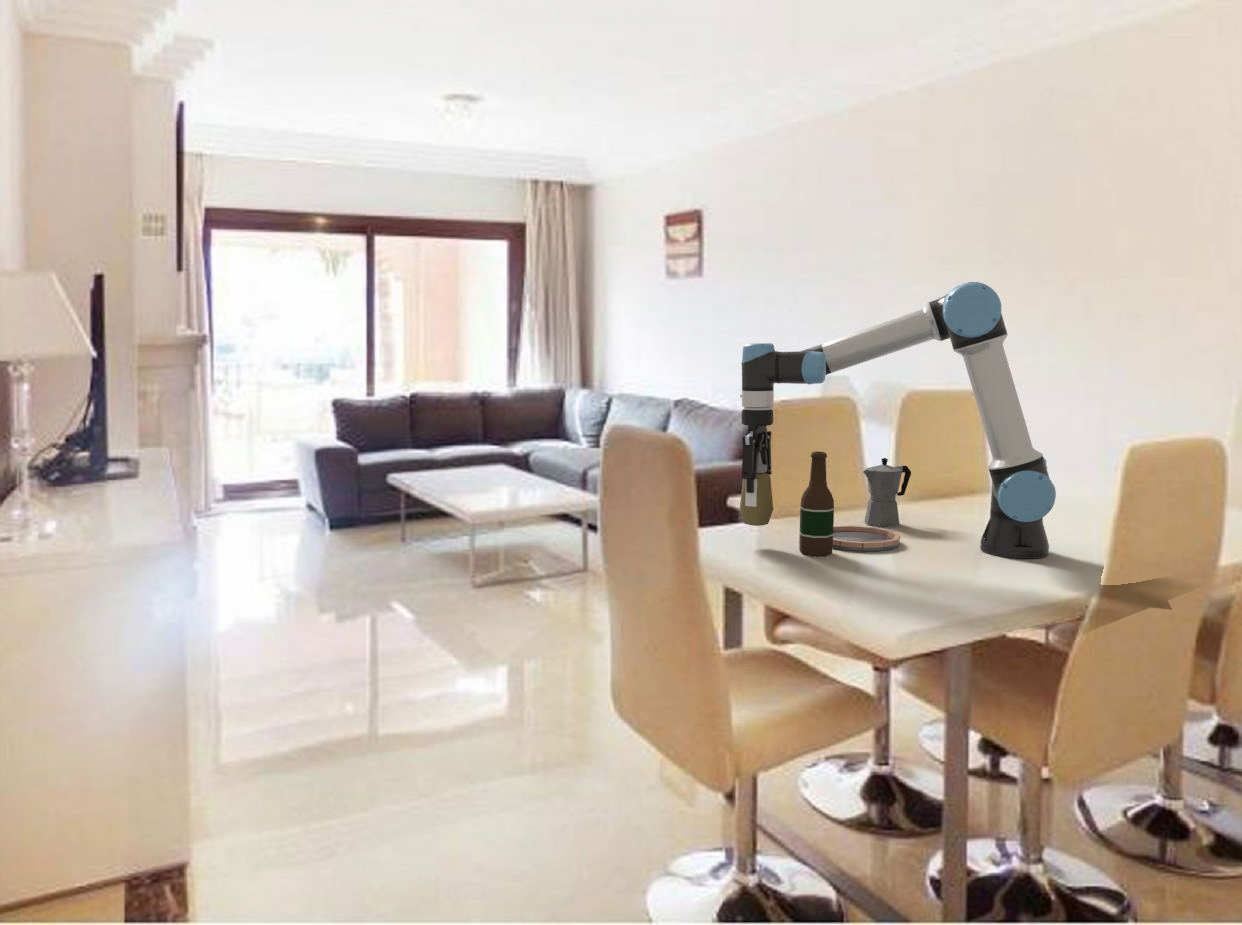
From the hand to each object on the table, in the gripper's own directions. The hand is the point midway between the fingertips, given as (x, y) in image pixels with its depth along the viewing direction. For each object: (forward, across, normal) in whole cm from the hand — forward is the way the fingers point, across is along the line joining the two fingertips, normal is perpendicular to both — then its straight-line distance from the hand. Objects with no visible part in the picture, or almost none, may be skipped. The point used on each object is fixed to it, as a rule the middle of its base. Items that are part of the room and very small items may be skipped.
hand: (756, 503), depth 234 cm
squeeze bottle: (+5, 0, 0) cm, 5 cm away
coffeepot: (+11, -43, +21) cm, 49 cm away
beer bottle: (+11, 0, +15) cm, 18 cm away
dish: (+11, -16, +20) cm, 28 cm away
